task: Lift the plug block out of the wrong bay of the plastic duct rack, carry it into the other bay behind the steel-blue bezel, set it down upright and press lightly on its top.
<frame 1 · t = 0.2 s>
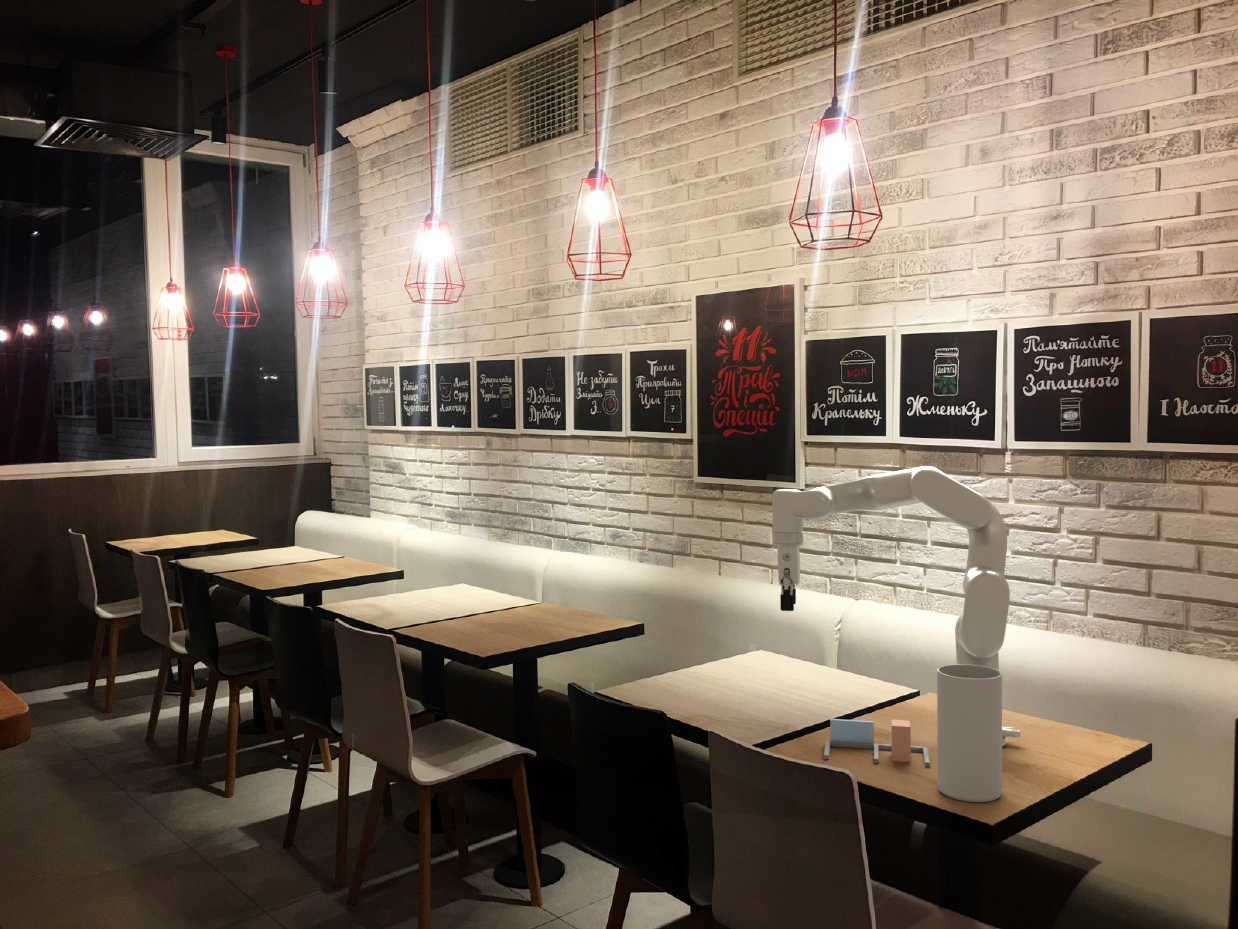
hand: (788, 607, 242), 31 cm above the table, tool pointing down, fingers open, 9 cm apart
plug block: (901, 758, 221), on the table
duct rack: (876, 755, 223), on the table
cylinder vase: (969, 793, 199), on the table
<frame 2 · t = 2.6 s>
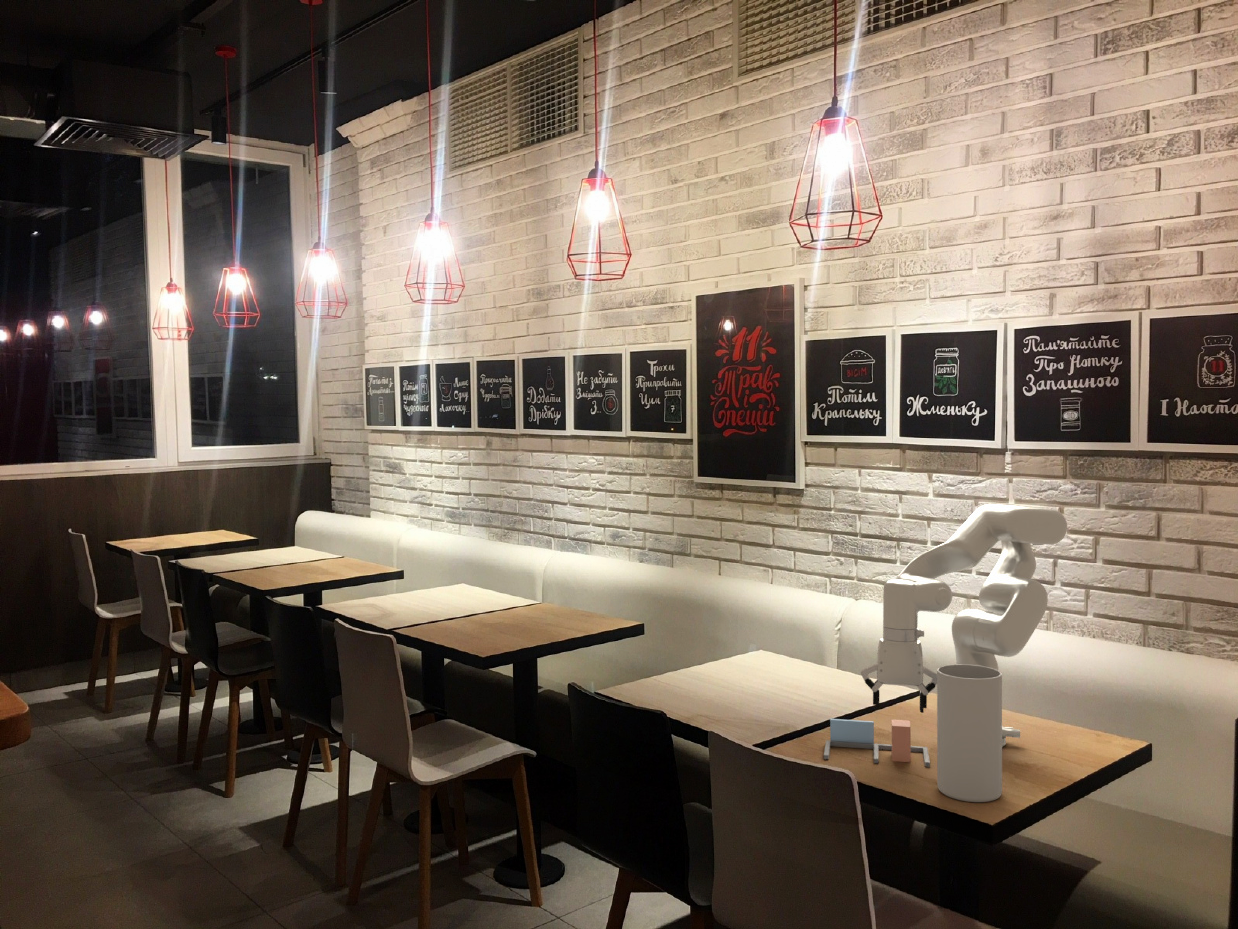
hand: (899, 709, 220), 11 cm above the table, tool pointing down, fingers open, 9 cm apart
nothing on the table moved.
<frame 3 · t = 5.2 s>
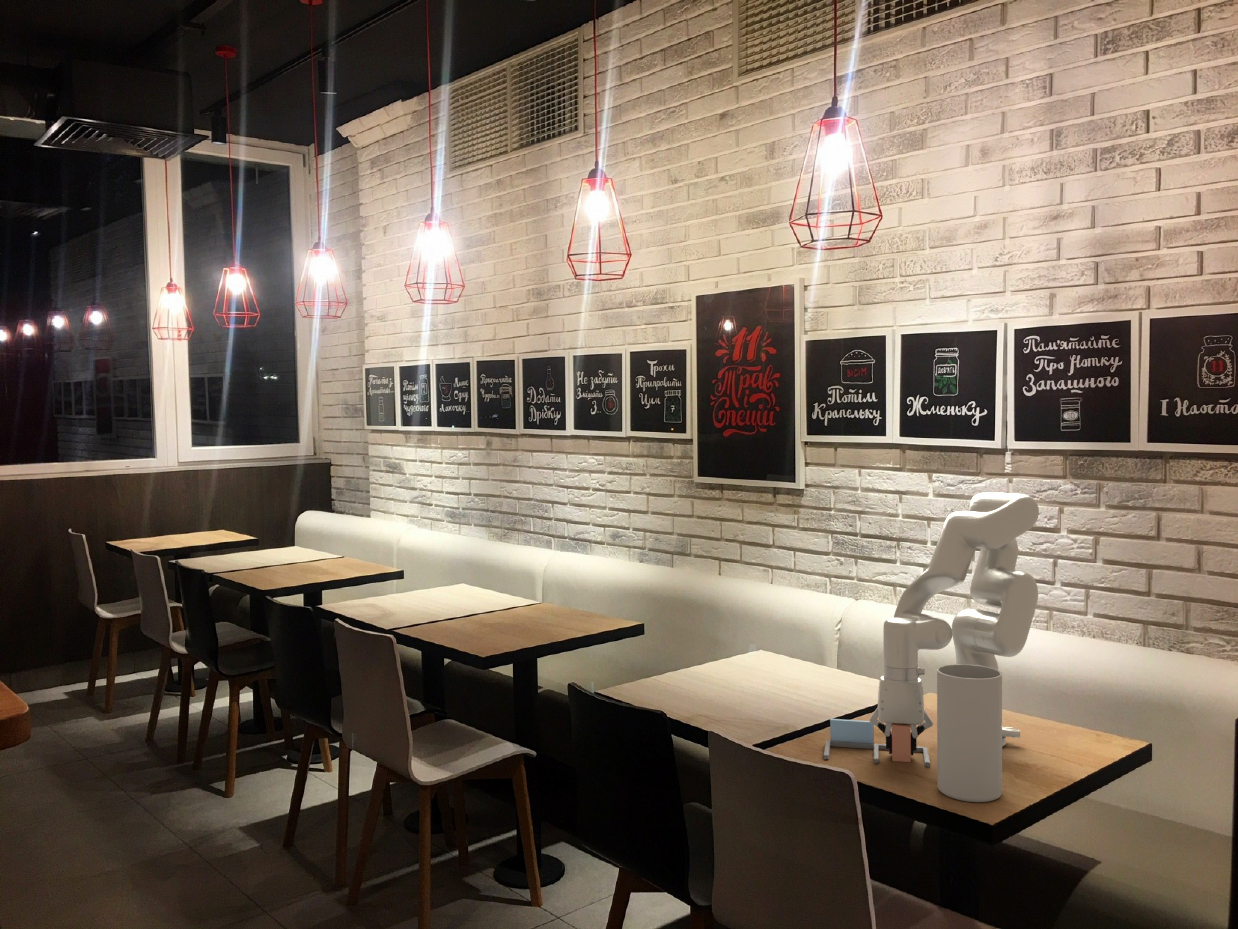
hand: (901, 752, 221), 1 cm above the table, tool pointing down, fingers closed on plug block, 4 cm apart
plug block: (901, 758, 221), on the table, touching gripper
everything else where it was.
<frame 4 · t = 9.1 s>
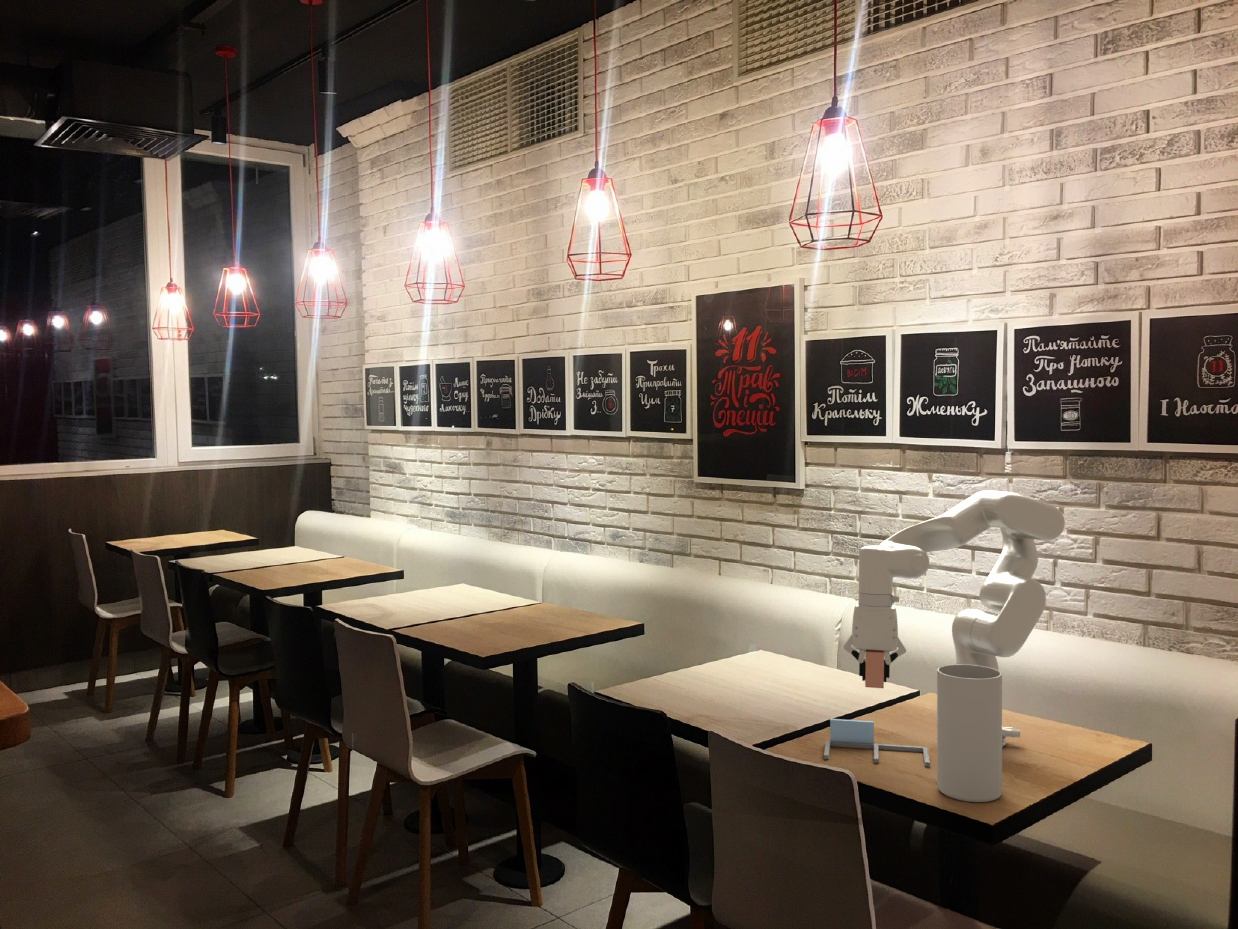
hand: (874, 679, 221), 18 cm above the table, tool pointing down, fingers closed on plug block, 4 cm apart
plug block: (874, 685, 221), point 16 cm above the table, touching gripper
everything else where it was.
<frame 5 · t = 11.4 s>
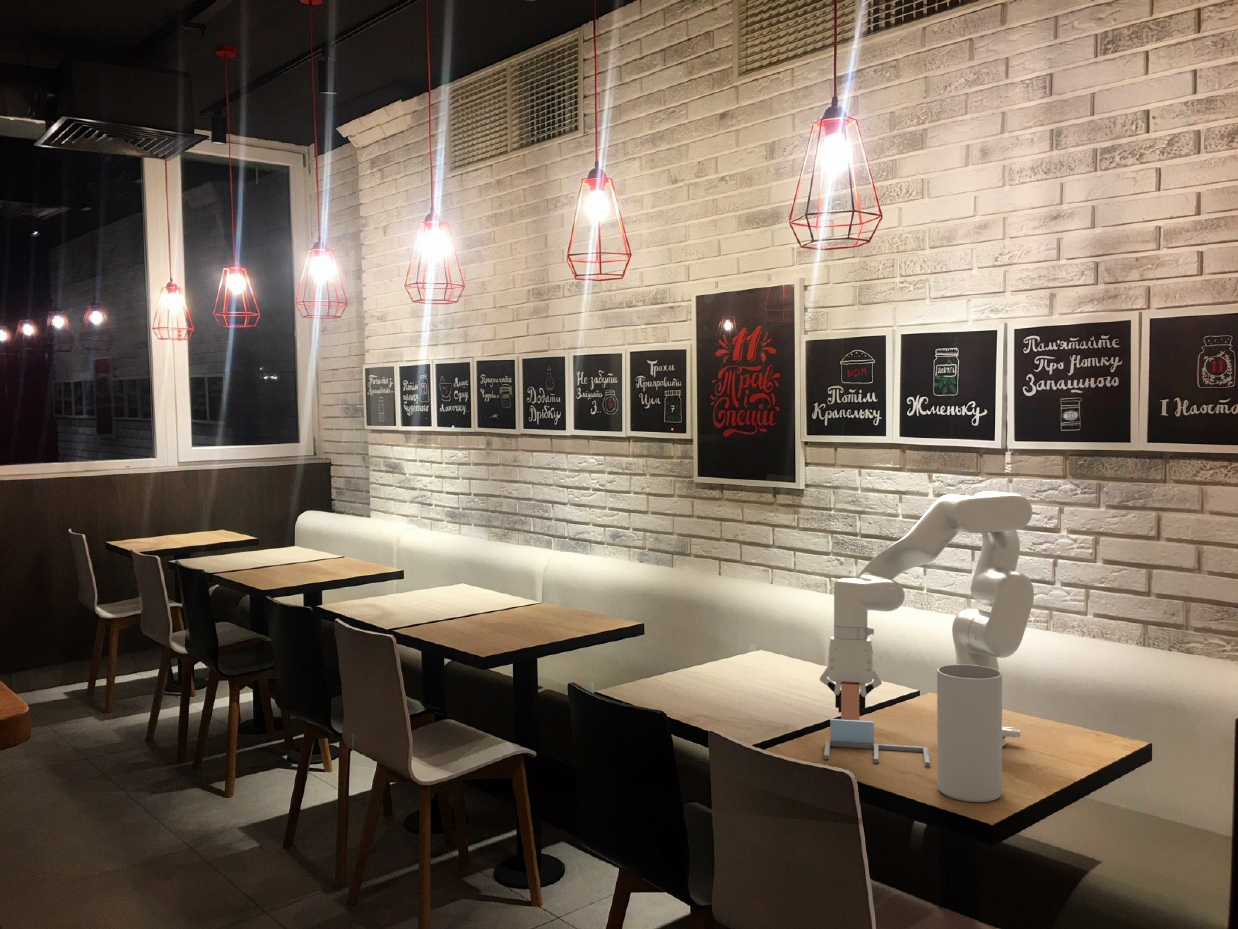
hand: (850, 711, 223), 10 cm above the table, tool pointing down, fingers closed on plug block, 4 cm apart
plug block: (850, 716, 223), point 9 cm above the table, touching gripper
everything else where it was.
when the fingers open (2 cm above the table, at t = 13.5 s): plug block stays where it is, on the table.
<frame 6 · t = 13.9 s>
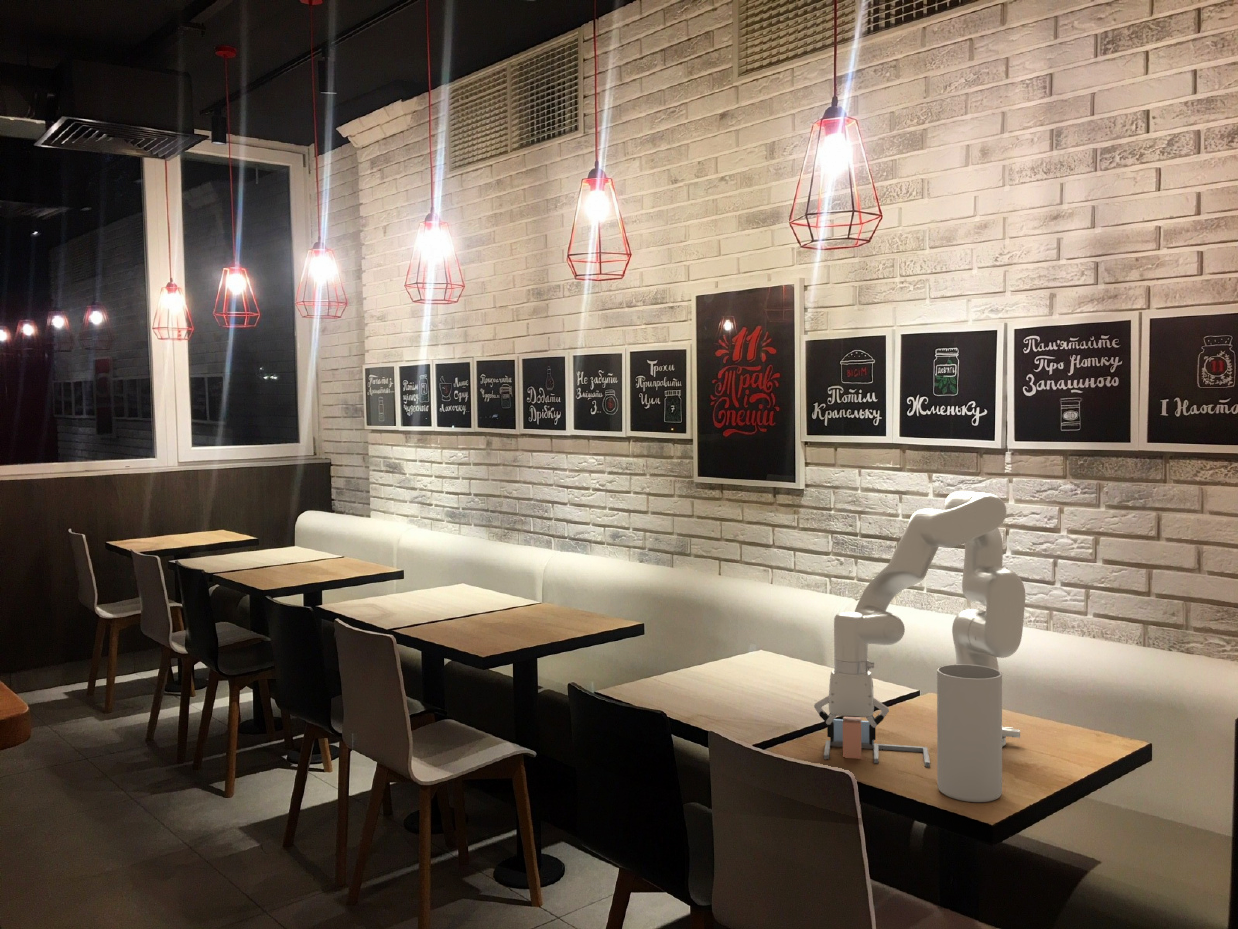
hand: (851, 741, 223), 3 cm above the table, tool pointing down, fingers open, 8 cm apart
plug block: (852, 754, 223), on the table
everything else where it was.
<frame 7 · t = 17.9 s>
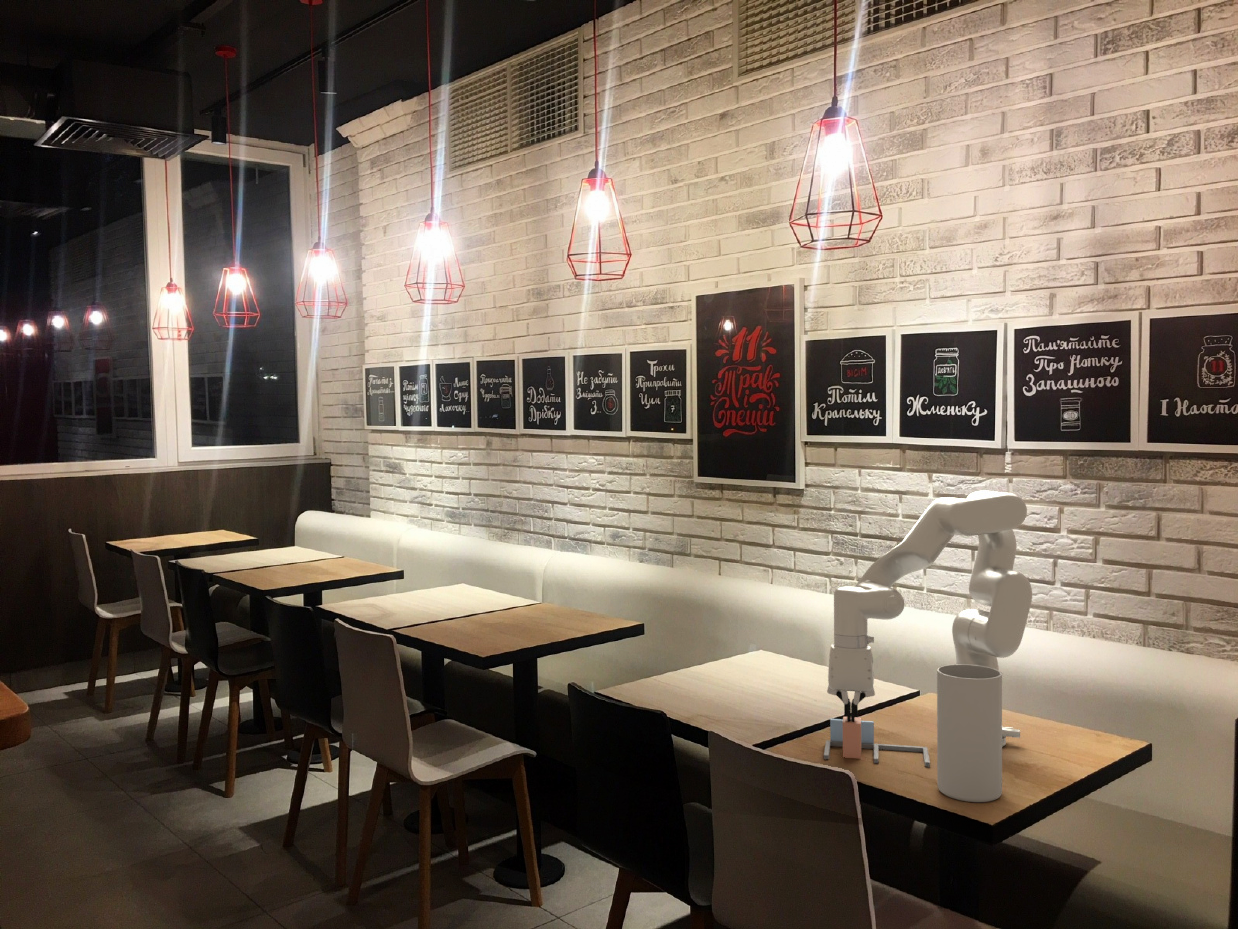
hand: (851, 720, 223), 8 cm above the table, tool pointing down, fingers closed
plug block: (852, 754, 223), on the table, touching gripper
everything else where it was.
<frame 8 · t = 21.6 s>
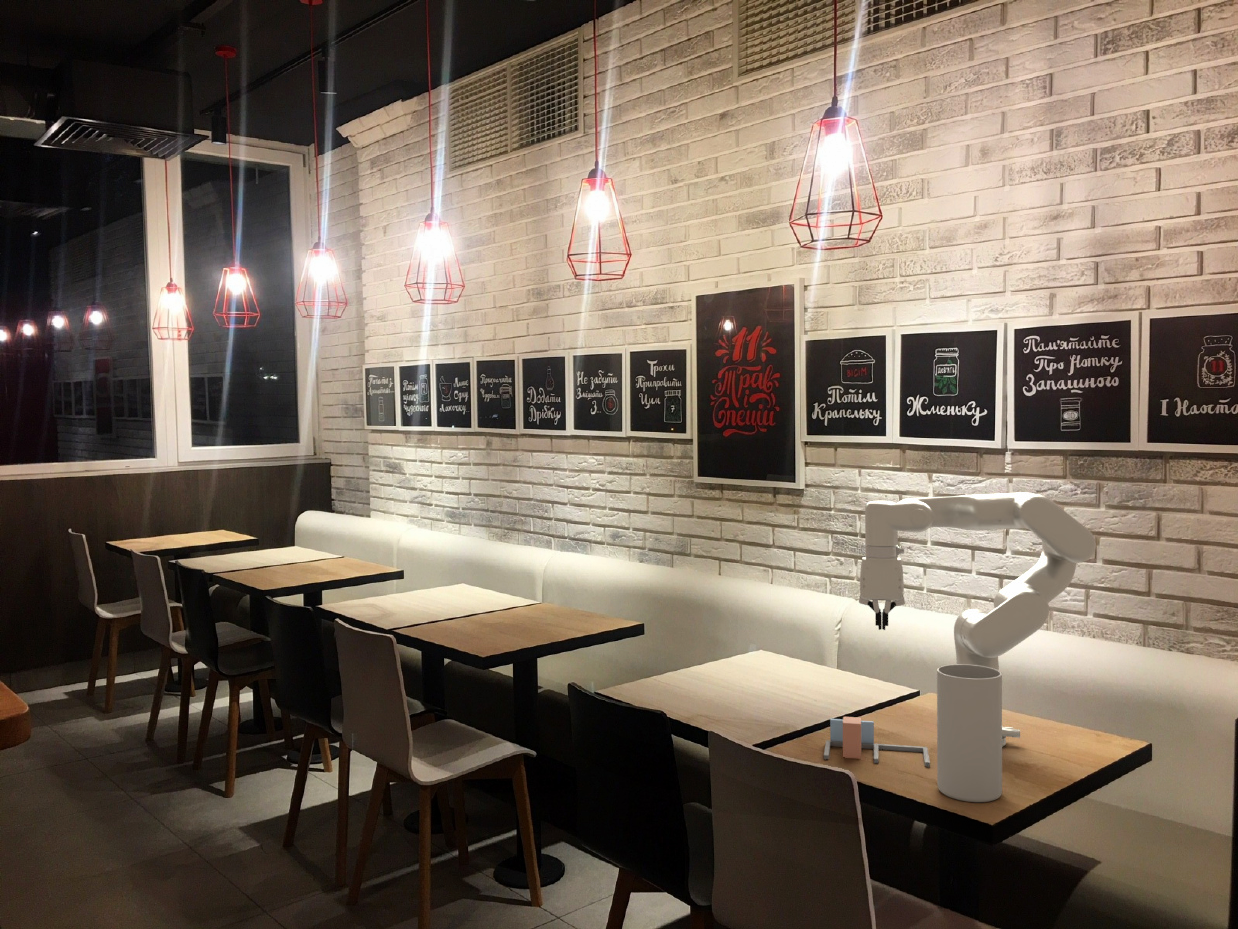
hand: (881, 628, 233), 27 cm above the table, tool pointing down, fingers closed
plug block: (852, 754, 223), on the table
everything else where it was.
at the end: plug block inside the target area on the duct rack (0.2 cm from its centre), point 0.0 cm above the duct rack's base; plug block tilted 0°; the gripper is holding nothing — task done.
